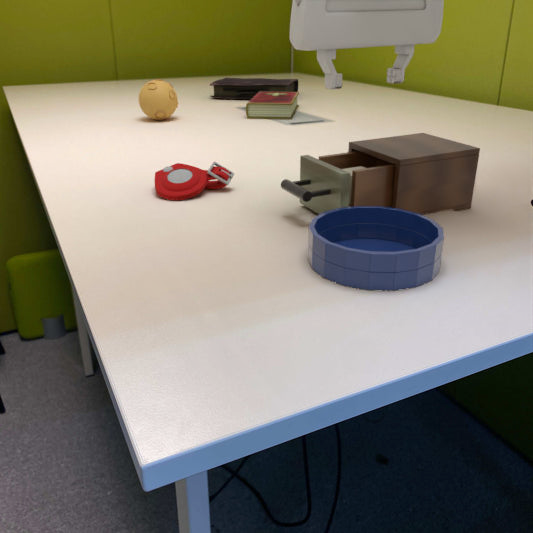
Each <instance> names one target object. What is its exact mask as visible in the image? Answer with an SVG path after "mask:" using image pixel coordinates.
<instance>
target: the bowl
mask: <svg viewBox="0 0 533 533" xmlns="http://www.w3.org/2000/svg"><path fill="white" fill-rule="evenodd" d="M444 240H445V232H444V228H443V227H442V226H441V225H440V224H439V223H438V222H437V221H435V220H434V219H432V218H430V217H427V216H425V215H421V214H418V213H415V212H411V211H407V210H403V209H398V208H390V207H382V206H353V207H343V208H337V209H334V210H330V211H326V212H323V213H321V214H318V215H316V216H314V217H313V218H312V219H311V221H310V223H309V226H308V247H307V253H308V254H307V261H308V262H309V266H310V267H311V269H312V270H313V271H314V272H315V273H316V274H317V275H318V276H320V275H321V276H320V277H322V278H323V277H324V278H323V279H325V278H326V280H327V279H328V280H327V281H329V280H330V281H329V282H332V281H333V282H332V283H334V282H336V283H335V284H337V285H340V284H341V286H343V285H344V286H343V287H347V286H349V287H348V288H351V287H352V289H357V290H363V289H365V290H364V291H373V290H382V291H381V292H392V291H393V290H394V291H400V290H399V289H404V290H407V289H406V288H409V289H413V287H414V288H417V287H420V286H423V285H425V284H428V283H429V282H431V281H433V279H435V278H436V276H438V274H439V273H440V269H441V264H442V254H443V249H444ZM424 283H425V284H424ZM358 288H359V289H358ZM385 290H387V291H385ZM390 290H392V291H390Z"/></svg>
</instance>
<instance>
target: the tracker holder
mask: <svg viewBox="0 0 533 533" xmlns="http://www.w3.org/2000/svg"><path fill="white" fill-rule="evenodd" d="M234 176H235V172H233V171H231V170H230V169H228V168H227V167H225V166H224V165H222V164H220V163H218V162H217V161H213V162H212V163H211V164H210V167H209V168H208V169H202V168H200V167H197V166H194V165H190V164H186V163H179V162H177V163H174V164H172V165H169V166H168V165H167V166H165V167H164V168H162V169H160V170H157V171H155V172H154V189H155V193H156V194H157V196H158V197H160V198H162V199H164V200H167V201H185V200H189V199H191V198H194V197H196V196H197V195H199V194H200V193H201V192H203V191H204V188H205V190H218V189H219V190H220V189H224V188H225V187H227V186H229V185H230V183H231V181H232V179H233V177H234Z"/></svg>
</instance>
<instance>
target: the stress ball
mask: <svg viewBox="0 0 533 533" xmlns="http://www.w3.org/2000/svg"><path fill="white" fill-rule="evenodd" d="M178 100H179V99H178V94H177V92H176V90H175V89H174V86H173V85H172V84H171V83H169V82H167V81H164V80H163V79H159V78H155V79H152V80H150V81H147V82H146V83H145V84H143V86H142V87H141V88H140V91H139V93H138V105H139V108H140V109H141V111H142V112H143V114H144V115H145V116H147V117H148V118H149V119H153V120H156V121H161V120H166V119H169V118H170V117H171V116H172V115H173V114H174V113H175V112H176V110H177V108H178V106H179V101H178Z"/></svg>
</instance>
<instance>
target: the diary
mask: <svg viewBox="0 0 533 533" xmlns="http://www.w3.org/2000/svg"><path fill="white" fill-rule="evenodd" d="M210 86H211V87H212V88H213V95H212V94H211V95H209V97H211V98H213V99H226V100H251V99H252V98H253V97H254V96H255V95H256V94H257V93H258V92H299V79H298V78H263V77H256V78H253V77H250V78H249V77H248V78H243V77H242V78H241V77H223V78H221V79H217V80H213V81H212V82H210V83H209V87H210Z"/></svg>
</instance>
